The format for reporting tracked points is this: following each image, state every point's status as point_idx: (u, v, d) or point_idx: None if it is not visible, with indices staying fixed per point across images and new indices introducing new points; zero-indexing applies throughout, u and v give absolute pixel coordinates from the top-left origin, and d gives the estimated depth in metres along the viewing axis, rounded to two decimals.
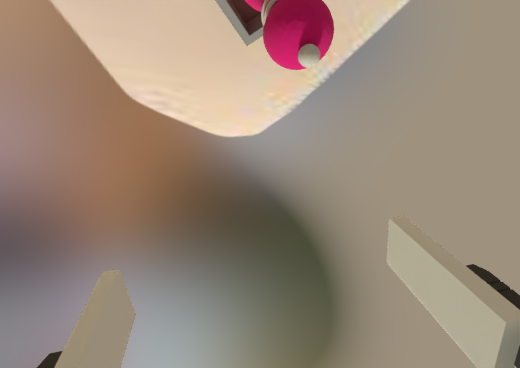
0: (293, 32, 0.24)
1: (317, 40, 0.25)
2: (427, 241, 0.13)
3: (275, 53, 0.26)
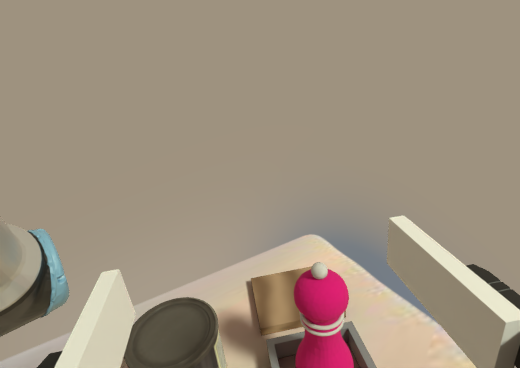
0: (304, 284, 0.33)
1: None
2: (427, 241, 0.13)
3: (320, 298, 0.32)
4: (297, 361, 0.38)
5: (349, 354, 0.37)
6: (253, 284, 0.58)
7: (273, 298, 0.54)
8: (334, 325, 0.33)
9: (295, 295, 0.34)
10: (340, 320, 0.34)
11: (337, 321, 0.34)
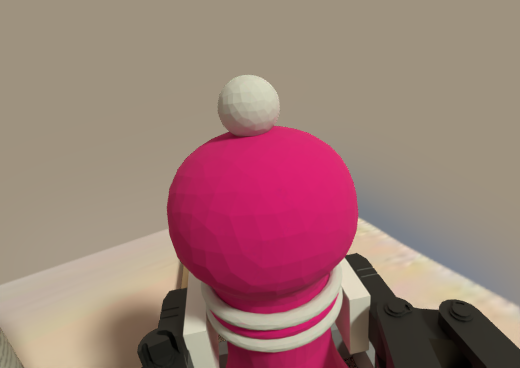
0: (192, 157, 0.09)
1: None
2: None
3: (239, 193, 0.07)
4: None
5: None
6: None
7: None
8: (307, 314, 0.09)
9: (168, 206, 0.09)
10: (329, 295, 0.10)
11: (318, 298, 0.09)
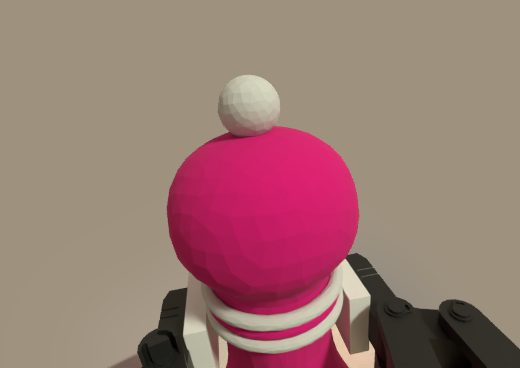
0: (193, 158, 0.09)
1: None
2: None
3: (239, 194, 0.07)
4: None
5: None
6: None
7: None
8: (307, 315, 0.09)
9: (168, 206, 0.09)
10: (329, 296, 0.09)
11: (318, 299, 0.09)
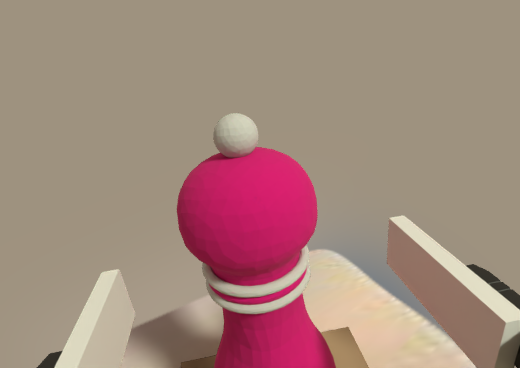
0: (195, 173, 0.12)
1: None
2: (427, 241, 0.13)
3: (228, 200, 0.11)
4: None
5: (327, 358, 0.16)
6: None
7: None
8: (279, 285, 0.12)
9: (177, 208, 0.13)
10: (296, 272, 0.13)
11: (288, 275, 0.13)
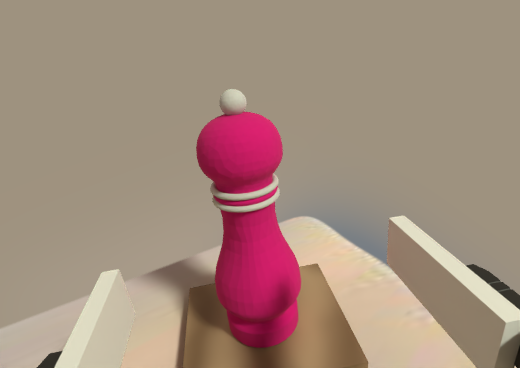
0: (208, 124, 0.21)
1: None
2: (427, 241, 0.13)
3: (228, 135, 0.19)
4: None
5: (292, 258, 0.25)
6: (191, 299, 0.31)
7: (221, 329, 0.27)
8: (258, 193, 0.21)
9: (196, 147, 0.21)
10: (269, 187, 0.21)
11: (263, 188, 0.21)
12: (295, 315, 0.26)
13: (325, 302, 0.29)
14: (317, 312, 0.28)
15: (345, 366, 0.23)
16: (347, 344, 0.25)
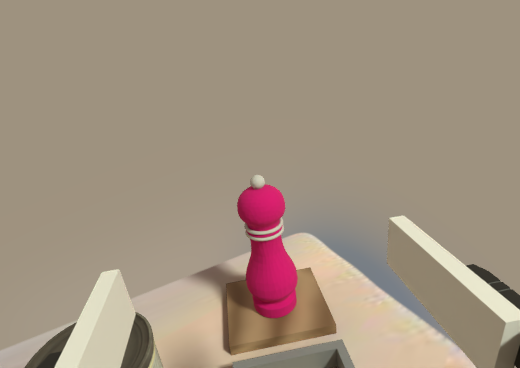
0: (244, 194, 0.38)
1: None
2: (427, 241, 0.13)
3: (256, 202, 0.36)
4: (246, 273, 0.43)
5: (291, 265, 0.42)
6: (228, 291, 0.49)
7: (249, 308, 0.45)
8: (271, 231, 0.38)
9: (237, 205, 0.38)
10: (277, 227, 0.38)
11: (274, 228, 0.38)
12: (294, 299, 0.43)
13: (313, 292, 0.46)
14: (308, 297, 0.45)
15: (322, 327, 0.40)
16: (325, 315, 0.42)
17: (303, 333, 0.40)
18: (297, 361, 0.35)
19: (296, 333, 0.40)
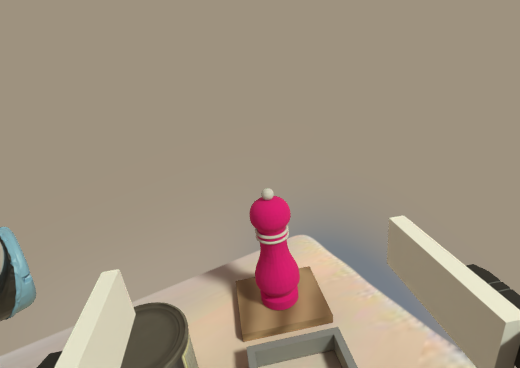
0: (256, 204, 0.44)
1: None
2: (427, 241, 0.13)
3: (266, 212, 0.43)
4: (255, 272, 0.49)
5: (295, 265, 0.49)
6: (237, 287, 0.55)
7: (257, 302, 0.51)
8: (279, 235, 0.45)
9: (250, 214, 0.45)
10: (284, 232, 0.45)
11: (281, 233, 0.45)
12: (296, 294, 0.50)
13: (313, 287, 0.53)
14: (308, 292, 0.52)
15: (321, 317, 0.47)
16: (323, 307, 0.49)
17: (305, 322, 0.47)
18: (300, 345, 0.42)
19: (299, 322, 0.47)
